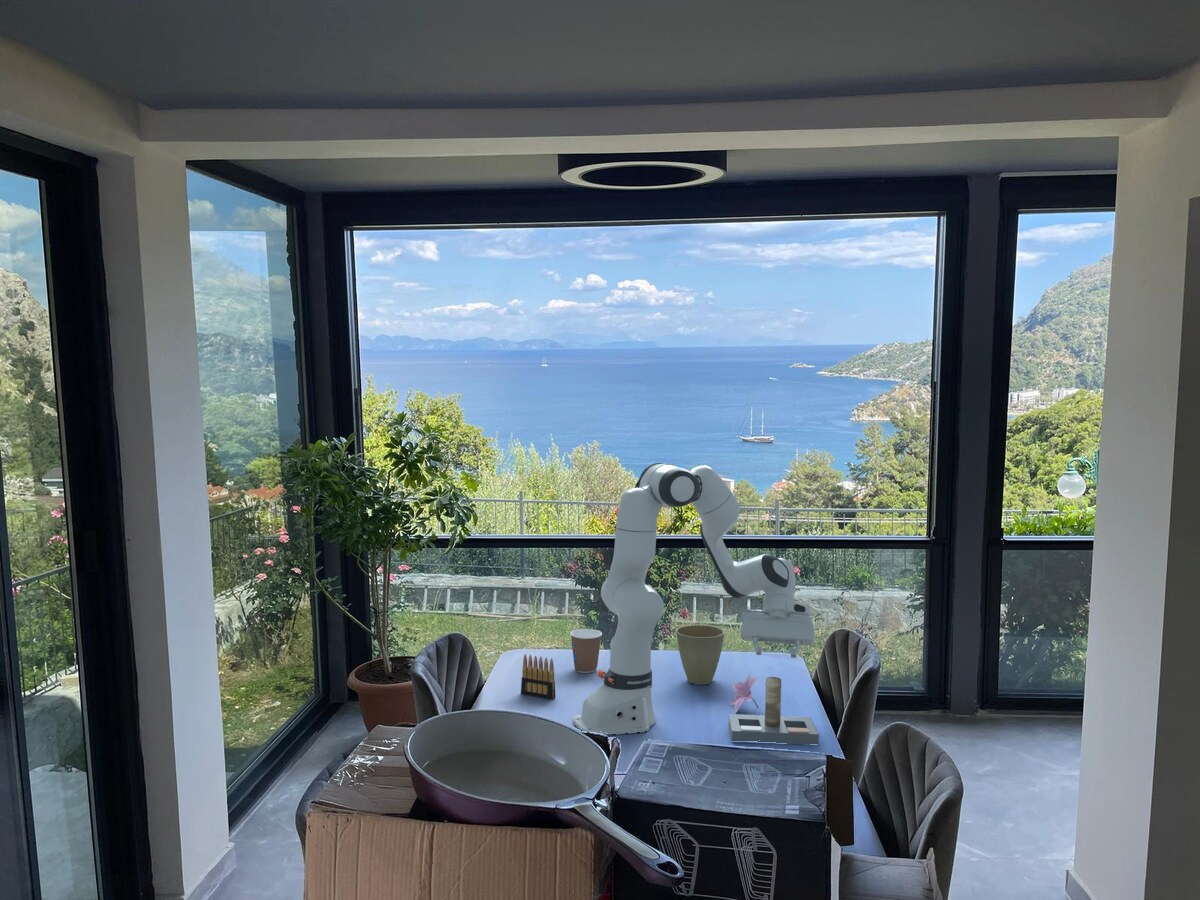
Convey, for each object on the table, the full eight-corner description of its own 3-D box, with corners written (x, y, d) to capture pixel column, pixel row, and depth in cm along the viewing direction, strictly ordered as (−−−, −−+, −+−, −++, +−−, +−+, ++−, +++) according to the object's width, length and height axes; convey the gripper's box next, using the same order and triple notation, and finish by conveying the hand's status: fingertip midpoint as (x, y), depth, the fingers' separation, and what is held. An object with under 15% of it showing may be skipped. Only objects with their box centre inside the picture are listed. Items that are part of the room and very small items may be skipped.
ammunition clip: (520, 694, 263) (520, 654, 263) (523, 692, 265) (524, 652, 264) (552, 699, 259) (553, 659, 258) (555, 697, 261) (555, 657, 260)
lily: (736, 701, 263) (722, 675, 260) (773, 690, 259) (759, 664, 256) (732, 727, 252) (718, 701, 250) (771, 717, 248) (757, 690, 245)
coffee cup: (572, 663, 293) (573, 628, 292) (603, 665, 291) (604, 629, 291) (567, 673, 283) (567, 636, 282) (599, 675, 281) (599, 638, 280)
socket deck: (731, 742, 229) (732, 729, 229) (728, 724, 241) (728, 712, 241) (818, 745, 228) (818, 732, 227) (810, 728, 240) (811, 715, 239)
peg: (770, 727, 232) (771, 682, 231) (761, 722, 235) (762, 677, 234) (783, 725, 233) (784, 680, 232) (774, 720, 237) (775, 676, 236)
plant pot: (710, 671, 287) (711, 623, 286) (731, 686, 273) (732, 635, 271) (667, 675, 282) (668, 626, 281) (686, 691, 268) (687, 639, 267)
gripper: (741, 603, 253) (737, 646, 244) (815, 608, 248) (813, 652, 239) (742, 614, 257) (738, 657, 249) (814, 620, 252) (813, 664, 244)
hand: (775, 655), depth 244 cm, fingers open, 8 cm apart
